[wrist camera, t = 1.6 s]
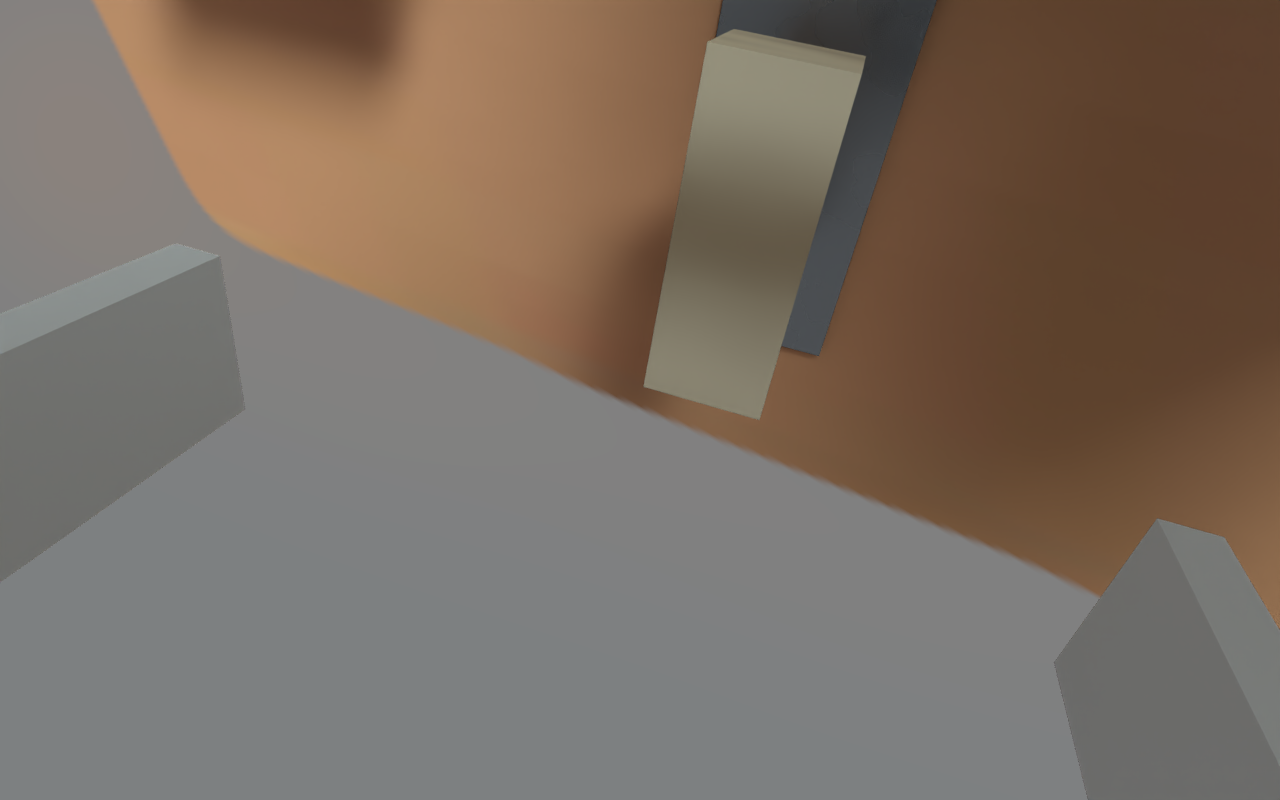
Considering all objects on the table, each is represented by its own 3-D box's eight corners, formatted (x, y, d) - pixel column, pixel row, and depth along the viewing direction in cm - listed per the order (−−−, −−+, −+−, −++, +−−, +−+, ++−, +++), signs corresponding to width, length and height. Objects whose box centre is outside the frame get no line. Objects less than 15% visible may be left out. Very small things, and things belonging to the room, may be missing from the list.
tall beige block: (819, 351, 28) (790, 517, 19) (665, 309, 29) (576, 452, 20) (982, -141, 19) (1050, -210, 11) (759, -178, 20) (673, -266, 12)
